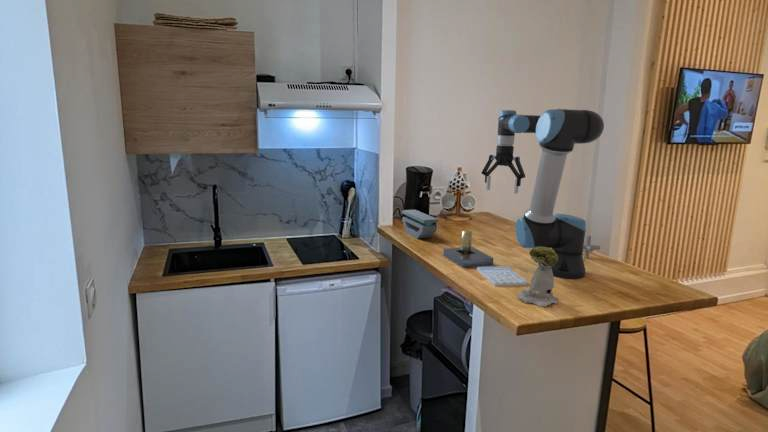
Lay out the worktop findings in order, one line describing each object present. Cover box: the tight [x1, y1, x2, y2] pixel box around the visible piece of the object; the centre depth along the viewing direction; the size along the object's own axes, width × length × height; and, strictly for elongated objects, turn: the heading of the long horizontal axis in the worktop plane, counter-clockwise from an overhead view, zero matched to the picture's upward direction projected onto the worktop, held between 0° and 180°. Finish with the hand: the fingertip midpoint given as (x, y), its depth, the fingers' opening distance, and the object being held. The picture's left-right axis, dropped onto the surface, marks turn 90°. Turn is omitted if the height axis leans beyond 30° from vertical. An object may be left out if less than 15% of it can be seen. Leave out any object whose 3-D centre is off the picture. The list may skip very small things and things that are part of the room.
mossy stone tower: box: [517, 247, 559, 307], centre depth 162 cm, size 12×13×18 cm
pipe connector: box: [583, 235, 601, 259], centre depth 214 cm, size 10×10×10 cm
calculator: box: [476, 265, 529, 287], centre depth 186 cm, size 13×20×2 cm, turn 8°
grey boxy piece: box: [401, 209, 439, 240], centre depth 245 cm, size 25×8×11 cm, turn 23°
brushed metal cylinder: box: [460, 229, 473, 254], centre depth 207 cm, size 4×4×12 cm
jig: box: [443, 246, 495, 268], centre depth 206 cm, size 18×14×3 cm
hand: (501, 191), depth 222 cm, fingers open, 13 cm apart
